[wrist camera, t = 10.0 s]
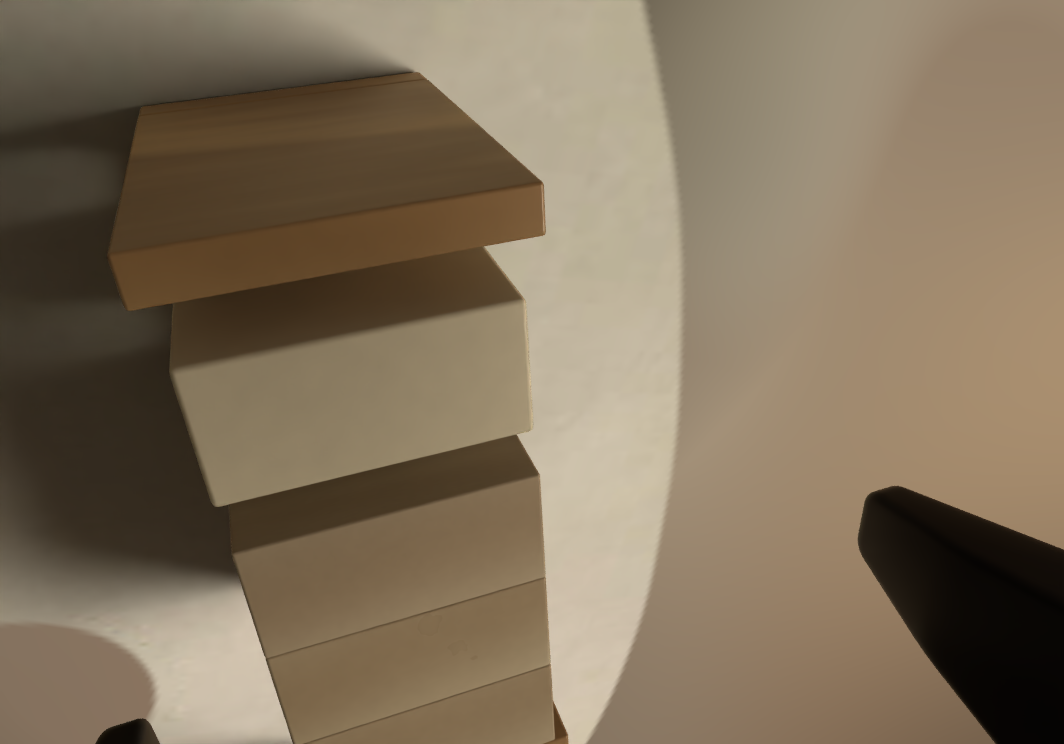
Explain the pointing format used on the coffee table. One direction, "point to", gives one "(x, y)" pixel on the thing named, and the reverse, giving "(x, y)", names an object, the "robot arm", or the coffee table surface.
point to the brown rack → (383, 493)
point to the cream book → (350, 372)
